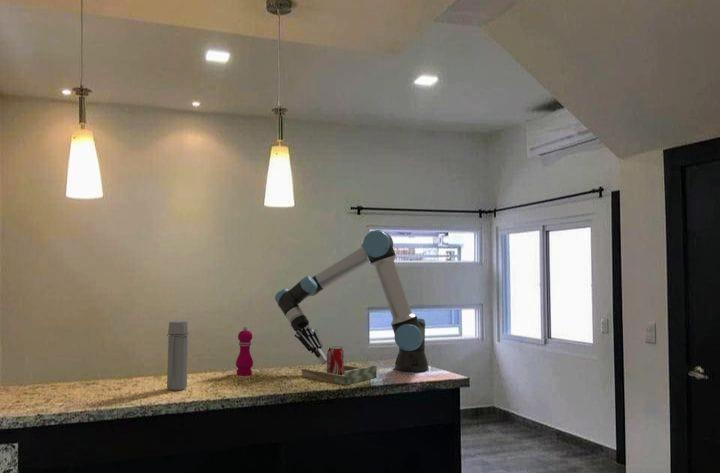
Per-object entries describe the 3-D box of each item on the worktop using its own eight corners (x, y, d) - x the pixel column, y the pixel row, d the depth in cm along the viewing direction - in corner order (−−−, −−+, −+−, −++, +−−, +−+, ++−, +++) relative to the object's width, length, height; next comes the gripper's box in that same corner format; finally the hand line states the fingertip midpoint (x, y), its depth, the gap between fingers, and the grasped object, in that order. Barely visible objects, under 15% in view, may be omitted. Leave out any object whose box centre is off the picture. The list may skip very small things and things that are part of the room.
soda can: (340, 378, 256) (340, 349, 257) (324, 376, 258) (324, 347, 259) (345, 375, 263) (346, 346, 263) (330, 373, 265) (330, 345, 265)
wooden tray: (332, 370, 274) (332, 358, 274) (376, 377, 259) (376, 365, 259) (301, 376, 258) (302, 364, 258) (346, 384, 243) (346, 371, 244)
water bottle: (171, 386, 234) (173, 320, 235) (191, 387, 233) (192, 320, 234) (159, 391, 225) (161, 322, 226) (179, 392, 224) (181, 323, 224)
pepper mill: (233, 375, 257) (234, 327, 258) (237, 372, 264) (238, 325, 265) (250, 376, 257) (252, 327, 257) (254, 372, 264) (255, 325, 265)
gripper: (303, 324, 280) (330, 365, 269) (282, 326, 270) (309, 369, 259) (312, 313, 277) (339, 355, 266) (291, 315, 267) (319, 358, 256)
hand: (324, 362), depth 262 cm, fingers closed
